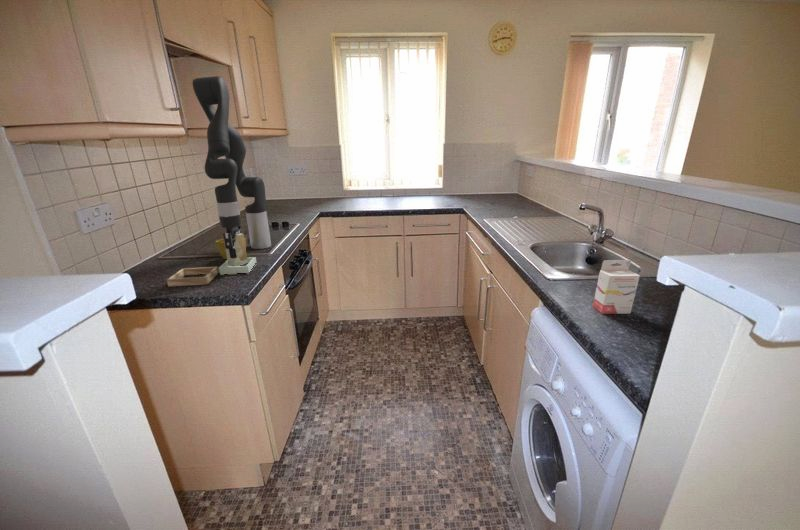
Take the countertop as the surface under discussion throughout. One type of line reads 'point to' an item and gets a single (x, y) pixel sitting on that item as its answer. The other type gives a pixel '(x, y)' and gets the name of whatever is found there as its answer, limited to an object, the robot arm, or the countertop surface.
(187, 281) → the frame
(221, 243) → the flower pot
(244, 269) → the parts tray
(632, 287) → the ink cartridge box
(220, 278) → the countertop surface
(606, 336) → the countertop surface
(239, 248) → the skincare box
